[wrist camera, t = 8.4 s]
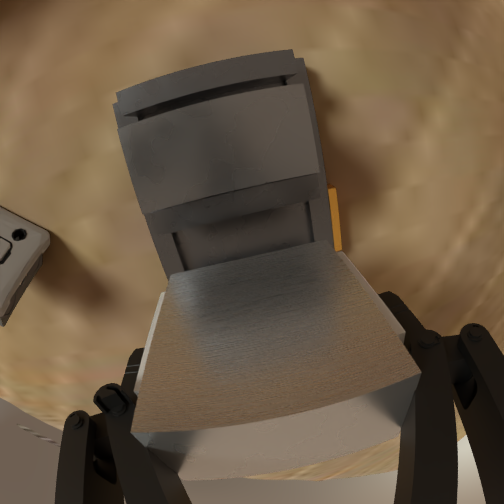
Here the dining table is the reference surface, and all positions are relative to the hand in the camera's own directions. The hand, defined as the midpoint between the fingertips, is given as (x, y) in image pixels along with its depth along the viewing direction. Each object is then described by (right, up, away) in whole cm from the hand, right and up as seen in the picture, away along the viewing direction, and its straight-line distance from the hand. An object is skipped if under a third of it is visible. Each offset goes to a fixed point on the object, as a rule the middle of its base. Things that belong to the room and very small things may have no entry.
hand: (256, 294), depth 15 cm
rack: (-1, +4, +8) cm, 8 cm away
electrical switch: (-22, +3, +6) cm, 23 cm away
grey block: (0, 0, 0) cm, 0 cm away
